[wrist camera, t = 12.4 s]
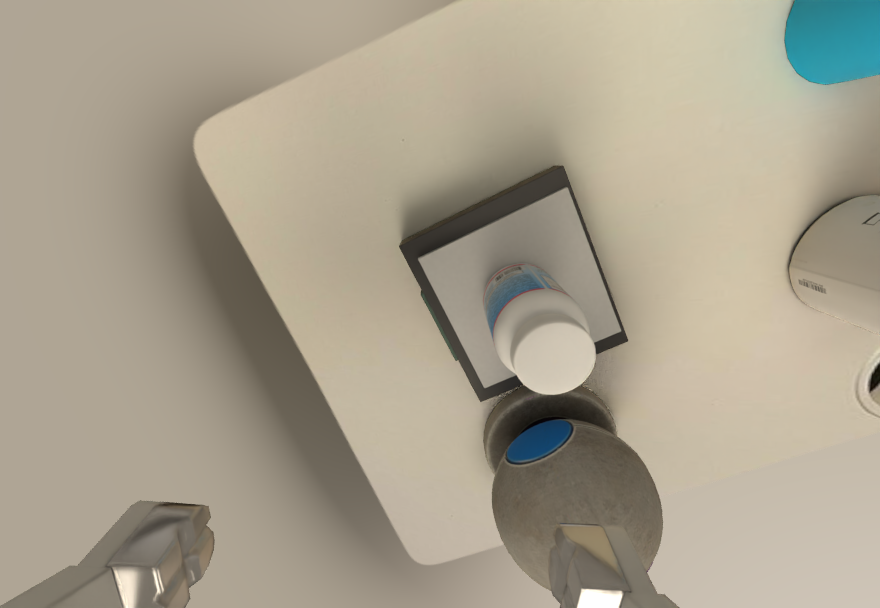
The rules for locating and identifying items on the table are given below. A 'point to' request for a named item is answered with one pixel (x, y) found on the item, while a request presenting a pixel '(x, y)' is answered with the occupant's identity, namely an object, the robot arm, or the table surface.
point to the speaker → (842, 263)
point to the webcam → (565, 476)
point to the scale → (501, 244)
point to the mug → (834, 39)
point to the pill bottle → (538, 329)
